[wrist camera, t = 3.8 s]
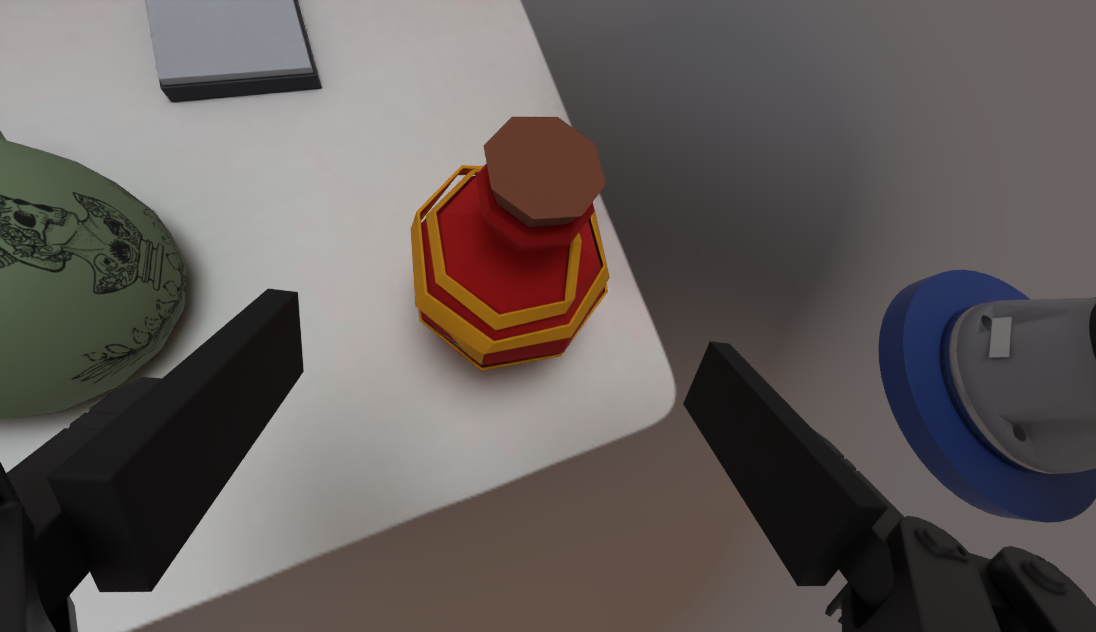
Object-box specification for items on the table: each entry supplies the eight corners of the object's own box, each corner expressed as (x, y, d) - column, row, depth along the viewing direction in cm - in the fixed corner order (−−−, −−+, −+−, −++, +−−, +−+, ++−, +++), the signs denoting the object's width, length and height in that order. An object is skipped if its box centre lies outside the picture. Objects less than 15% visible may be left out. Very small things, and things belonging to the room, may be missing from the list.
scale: (295, -7, 31) (288, -30, 30) (321, 88, 30) (315, 69, 28) (152, -3, 29) (136, -28, 27) (171, 102, 27) (154, 82, 25)
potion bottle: (600, 334, 29) (744, 226, 15) (468, 419, 25) (493, 382, 11) (518, 213, 30) (579, 9, 16) (383, 277, 26) (310, 86, 12)
